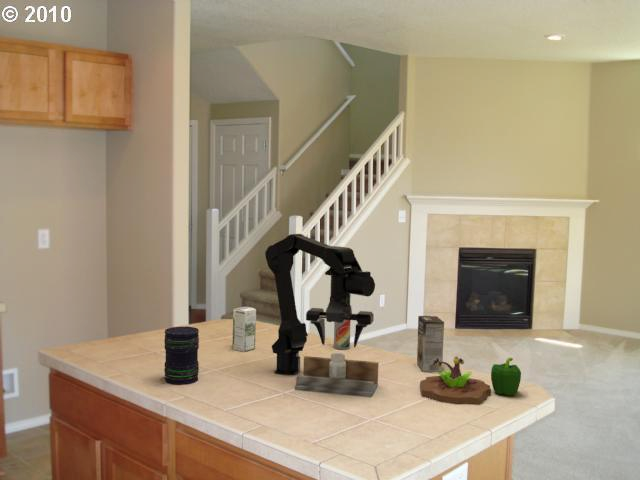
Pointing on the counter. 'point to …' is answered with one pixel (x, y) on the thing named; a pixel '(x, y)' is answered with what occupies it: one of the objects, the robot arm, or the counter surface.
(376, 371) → the cleat board
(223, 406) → the counter surface
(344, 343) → the lotion bottle
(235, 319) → the syrup box
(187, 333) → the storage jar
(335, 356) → the pill bottle
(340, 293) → the robot arm
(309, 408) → the counter surface
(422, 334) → the coffee box
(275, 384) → the counter surface
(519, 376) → the bell pepper
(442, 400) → the plant
